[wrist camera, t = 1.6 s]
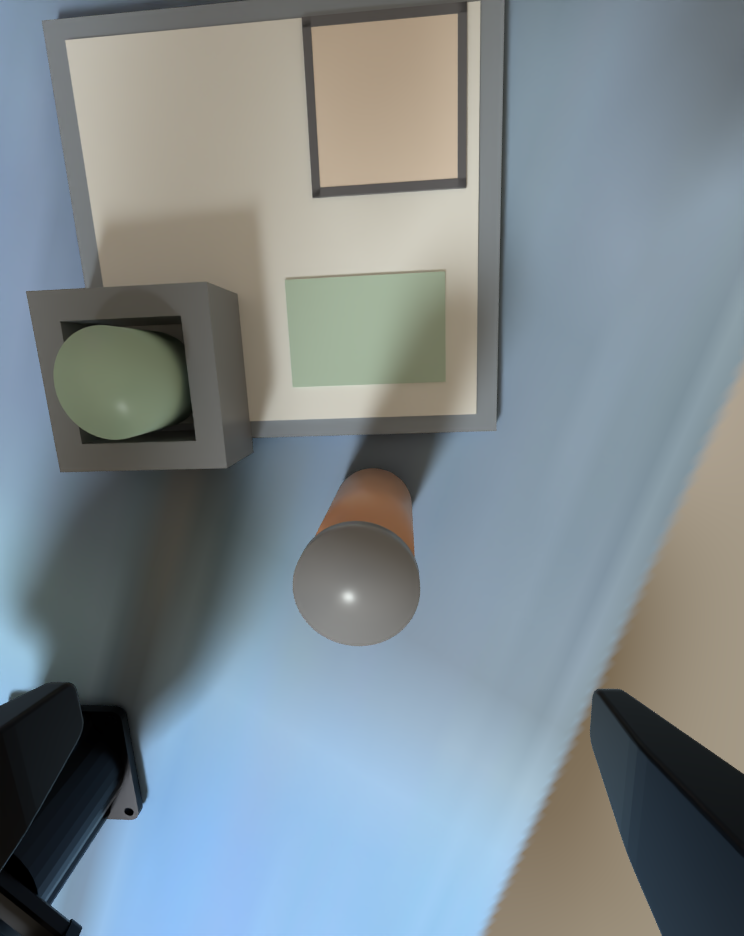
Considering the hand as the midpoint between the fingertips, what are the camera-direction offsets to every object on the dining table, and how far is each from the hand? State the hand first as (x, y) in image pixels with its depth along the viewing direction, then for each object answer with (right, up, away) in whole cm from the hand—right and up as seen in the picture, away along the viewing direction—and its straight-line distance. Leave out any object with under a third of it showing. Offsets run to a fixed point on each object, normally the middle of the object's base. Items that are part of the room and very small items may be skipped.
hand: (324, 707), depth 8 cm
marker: (+1, +3, +12) cm, 13 cm away
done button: (-7, +7, +10) cm, 14 cm away
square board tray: (-2, +13, +10) cm, 17 cm away
